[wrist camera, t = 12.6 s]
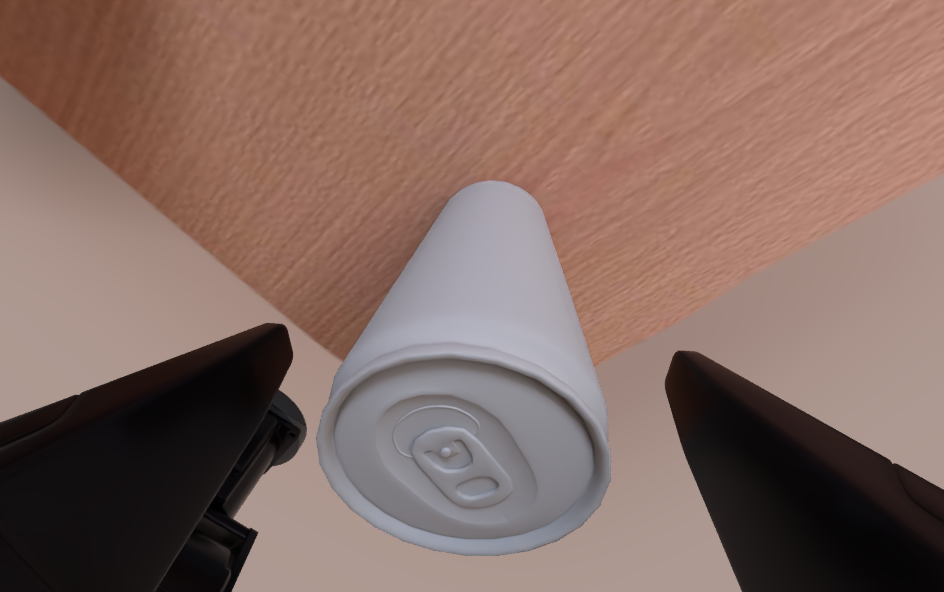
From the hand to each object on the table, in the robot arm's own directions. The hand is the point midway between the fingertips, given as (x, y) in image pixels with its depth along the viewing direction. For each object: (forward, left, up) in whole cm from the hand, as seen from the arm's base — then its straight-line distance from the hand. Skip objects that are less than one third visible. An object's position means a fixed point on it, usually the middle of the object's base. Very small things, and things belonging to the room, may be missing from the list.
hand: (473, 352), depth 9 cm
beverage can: (0, 0, -9) cm, 9 cm away
